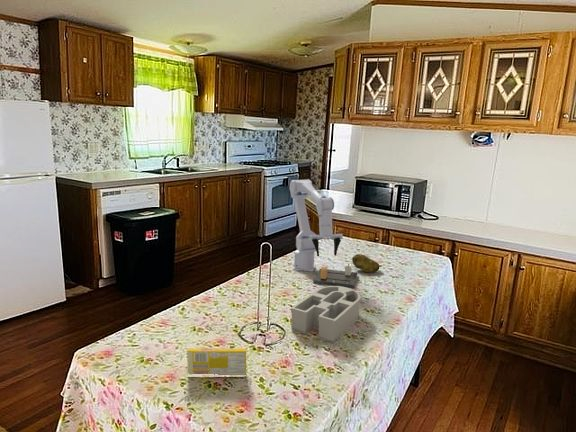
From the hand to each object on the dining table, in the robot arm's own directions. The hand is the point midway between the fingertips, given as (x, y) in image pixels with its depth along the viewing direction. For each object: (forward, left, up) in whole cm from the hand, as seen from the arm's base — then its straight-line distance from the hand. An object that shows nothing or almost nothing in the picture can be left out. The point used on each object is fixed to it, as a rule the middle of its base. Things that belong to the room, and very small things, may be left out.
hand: (326, 255), depth 184 cm
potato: (+16, +21, -13) cm, 29 cm away
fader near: (-1, +1, -11) cm, 11 cm away
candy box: (-17, -79, -13) cm, 82 cm away
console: (+4, +5, -13) cm, 14 cm away
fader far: (+9, +9, -11) cm, 17 cm away
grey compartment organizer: (+8, -37, -13) cm, 40 cm away
